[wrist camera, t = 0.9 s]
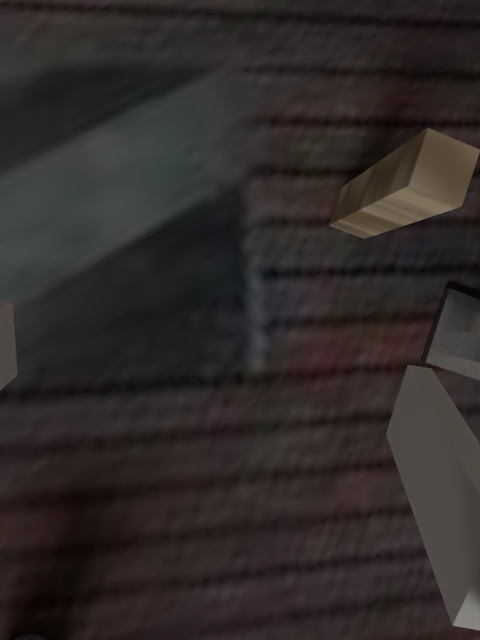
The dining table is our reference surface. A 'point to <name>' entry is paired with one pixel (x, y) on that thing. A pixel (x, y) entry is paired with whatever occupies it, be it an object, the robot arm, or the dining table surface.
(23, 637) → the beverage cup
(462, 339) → the bracket
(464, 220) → the dining table surface
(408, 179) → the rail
